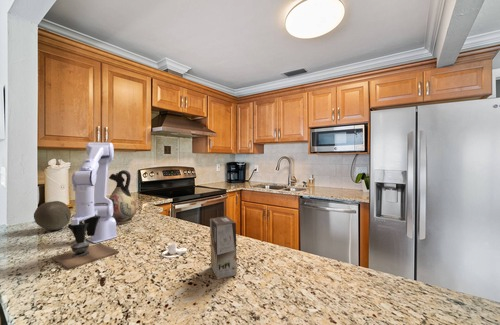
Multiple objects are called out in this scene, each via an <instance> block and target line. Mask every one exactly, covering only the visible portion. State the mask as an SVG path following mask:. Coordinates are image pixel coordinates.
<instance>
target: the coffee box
mask: <svg viewBox="0 0 500 325" xmlns="http://www.w3.org/2000/svg"><path fill="white" fill-rule="evenodd" d="M209 232H210V233H209V234H210V235H209V236H210V237H209V238H210V267H211V270H212V271H213V273H214V275H215V277H216V279H217V280H220V279H223V278H229V277H233V276H237V272H238V267H237V264H238V262H237V261H238V260H237V222H235V221H234V220H233V219H231V218H230V217H229V216H218V217H213V218H211V217H210V218H209Z"/></svg>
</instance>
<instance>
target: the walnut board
mask: <svg viewBox="0 0 500 325" xmlns="http://www.w3.org/2000/svg"><path fill="white" fill-rule="evenodd" d="M86 251H88V252H89V254H87V255H85V256H82V257H72V255H73V254H74V253H75V252H73V251H72V250H71V251H67V252H63V253H60V254H57V255H53V256H51V260H53V261H55V262H56V263H58V264H59V265H61V266H62V267H64V268H65V269H67V270H68V271H69V270H73V269H75V268H79V267H81V266H84V265H87V264H89V263H93V262H95V261H99V260H102V259H105V258H108V257H111V256H113V255H117V254H119V253H120V250H118V249H115V248H113V247H110V246H108V245H106V244H103V243H101V242H98V243H94V244H92V245H89V247H88V249H87V250H86Z"/></svg>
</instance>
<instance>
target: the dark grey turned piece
mask: <svg viewBox="0 0 500 325" xmlns="http://www.w3.org/2000/svg"><path fill="white" fill-rule="evenodd" d="M86 235H87V232H86V233H85V236H86ZM86 240H87V239H85V241H84V242H83V243H77V242H76V239H75V238H74V243H73V244H72V245H70V249H71V251H73V252H75V253H74V254H73V255H72V257H82V256H85V255H87V254H89V252H88V251H86V250H87V249H88V247H89V246H90V245H91V243H90V241H86Z"/></svg>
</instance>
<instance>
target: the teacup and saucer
mask: <svg viewBox="0 0 500 325" xmlns="http://www.w3.org/2000/svg"><path fill="white" fill-rule="evenodd" d="M164 247H165V251H163V252H162V253H161V256H162V257H164V258H176V257H180V256H181V255H183V254H185V253H186V252H187V251H188V250H187V248H186V247H181V248H177V247H178V245H177V242H175V241H173V242H169V243H167V244H166V245H165V246H164ZM167 253H169V255H166V254H167ZM176 253H177V254H176ZM175 254H176V255H175ZM172 255H173V256H172Z"/></svg>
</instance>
